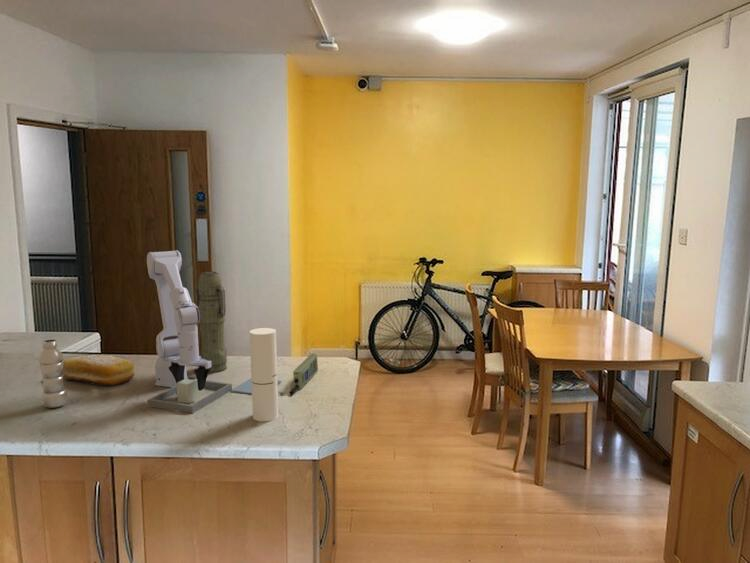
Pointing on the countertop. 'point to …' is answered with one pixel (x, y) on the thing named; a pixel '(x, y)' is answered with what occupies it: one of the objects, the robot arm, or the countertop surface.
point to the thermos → (212, 320)
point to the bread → (98, 369)
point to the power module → (189, 390)
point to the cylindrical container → (264, 374)
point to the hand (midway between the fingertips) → (191, 388)
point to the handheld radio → (304, 372)
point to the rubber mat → (246, 387)
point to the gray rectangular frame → (158, 403)
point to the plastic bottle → (52, 375)
